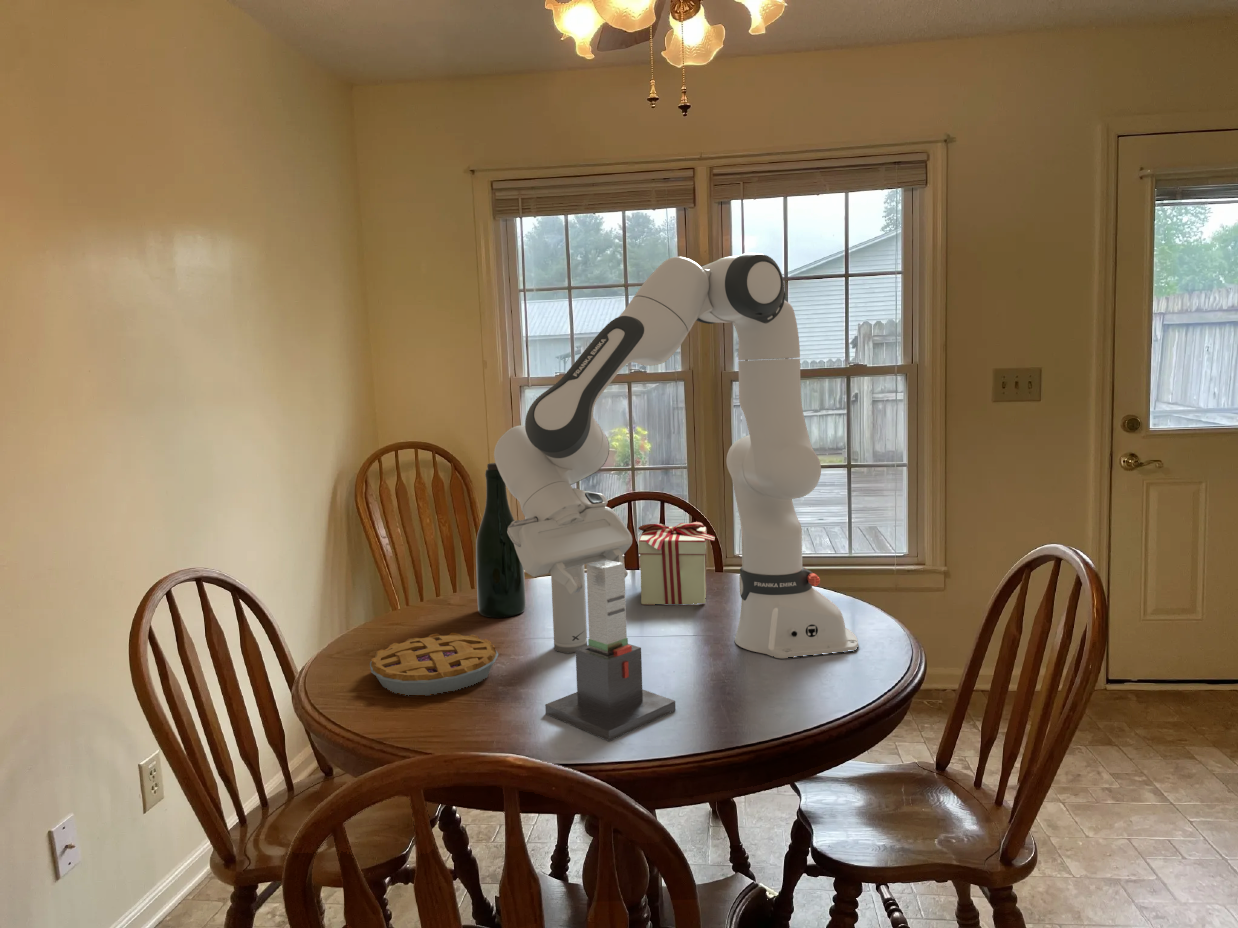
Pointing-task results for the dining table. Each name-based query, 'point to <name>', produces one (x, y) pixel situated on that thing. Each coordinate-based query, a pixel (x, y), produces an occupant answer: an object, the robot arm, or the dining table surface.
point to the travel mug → (569, 614)
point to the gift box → (673, 563)
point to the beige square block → (606, 606)
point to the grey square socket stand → (609, 695)
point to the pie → (434, 664)
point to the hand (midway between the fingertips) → (600, 584)
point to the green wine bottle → (498, 555)
